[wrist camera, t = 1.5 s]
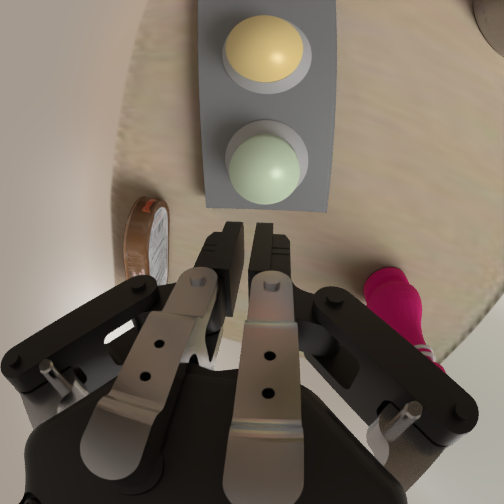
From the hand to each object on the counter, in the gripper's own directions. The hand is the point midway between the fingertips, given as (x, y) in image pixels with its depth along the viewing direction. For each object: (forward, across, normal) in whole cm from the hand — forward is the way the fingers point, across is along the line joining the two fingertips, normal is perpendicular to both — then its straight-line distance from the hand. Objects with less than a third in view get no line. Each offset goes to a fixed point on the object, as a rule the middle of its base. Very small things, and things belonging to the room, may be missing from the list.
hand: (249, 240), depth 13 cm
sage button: (+13, 0, 0) cm, 13 cm away
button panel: (+17, 0, -10) cm, 20 cm away
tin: (+17, +13, +11) cm, 24 cm away
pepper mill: (+17, -16, +16) cm, 28 cm away
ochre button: (+13, 0, -10) cm, 16 cm away
